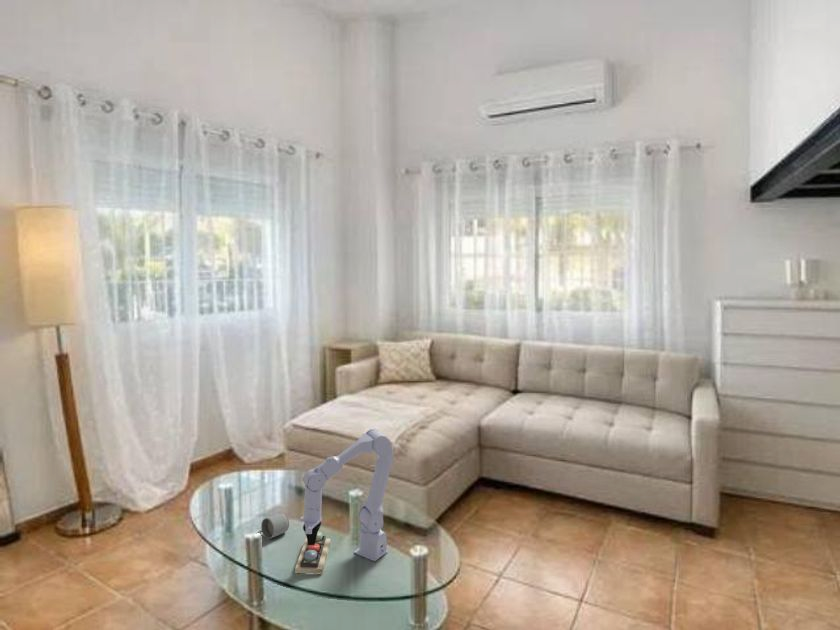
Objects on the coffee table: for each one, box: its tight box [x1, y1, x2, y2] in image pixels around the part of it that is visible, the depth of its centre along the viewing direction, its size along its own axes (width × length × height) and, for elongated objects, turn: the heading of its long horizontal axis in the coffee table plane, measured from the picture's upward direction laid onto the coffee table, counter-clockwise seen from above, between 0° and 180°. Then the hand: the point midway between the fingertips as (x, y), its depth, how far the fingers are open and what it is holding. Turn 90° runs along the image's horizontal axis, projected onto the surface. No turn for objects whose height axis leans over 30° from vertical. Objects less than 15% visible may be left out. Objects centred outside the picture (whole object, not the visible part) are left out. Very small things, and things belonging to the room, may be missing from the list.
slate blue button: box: [305, 550, 317, 562], centre depth 178 cm, size 4×4×2 cm
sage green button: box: [316, 531, 324, 542], centre depth 191 cm, size 4×4×2 cm
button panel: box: [294, 535, 331, 575], centre depth 185 cm, size 20×9×3 cm, turn 2°
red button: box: [308, 543, 320, 552], centre depth 185 cm, size 4×4×2 cm
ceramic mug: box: [260, 513, 290, 540], centre depth 201 cm, size 11×8×8 cm
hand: (311, 544), depth 180 cm, fingers closed
